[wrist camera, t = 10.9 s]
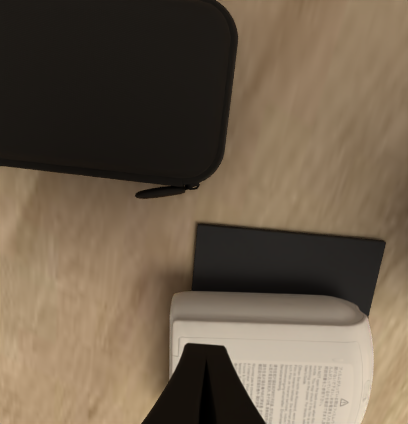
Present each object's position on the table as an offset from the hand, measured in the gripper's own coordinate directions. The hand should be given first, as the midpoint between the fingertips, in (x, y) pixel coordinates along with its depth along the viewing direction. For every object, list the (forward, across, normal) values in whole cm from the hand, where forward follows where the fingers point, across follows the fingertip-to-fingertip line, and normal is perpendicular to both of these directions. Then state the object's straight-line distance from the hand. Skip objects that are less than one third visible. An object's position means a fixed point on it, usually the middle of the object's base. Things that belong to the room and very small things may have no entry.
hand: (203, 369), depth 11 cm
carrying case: (+11, +7, -9) cm, 16 cm away
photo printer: (+8, +2, +7) cm, 11 cm away
